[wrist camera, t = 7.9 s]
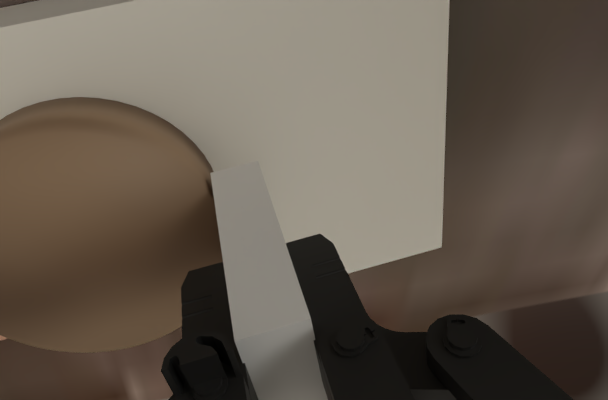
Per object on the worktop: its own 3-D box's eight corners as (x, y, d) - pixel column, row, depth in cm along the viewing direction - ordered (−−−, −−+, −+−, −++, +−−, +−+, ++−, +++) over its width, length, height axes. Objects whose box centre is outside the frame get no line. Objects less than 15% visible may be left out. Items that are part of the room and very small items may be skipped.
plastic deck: (-68, 21, 15) (-136, 55, 12) (397, -71, 17) (451, -64, 13) (86, 283, 22) (70, 351, 18) (404, 199, 23) (441, 247, 20)
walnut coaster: (-104, 139, 13) (-157, 184, 11) (177, 66, 14) (177, 96, 11) (42, 324, 17) (24, 380, 15) (246, 263, 18) (255, 309, 16)
